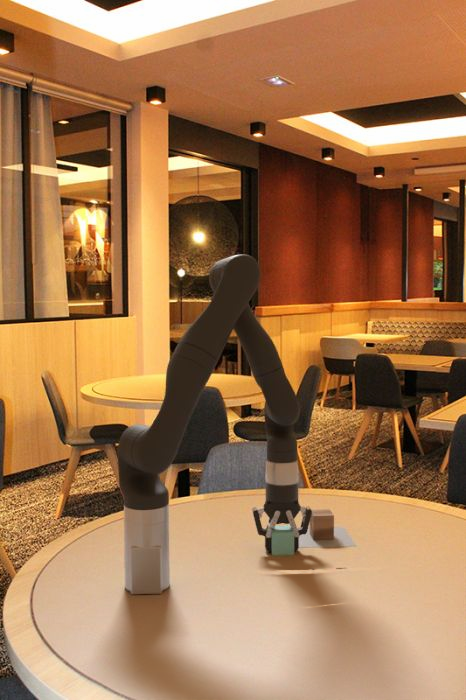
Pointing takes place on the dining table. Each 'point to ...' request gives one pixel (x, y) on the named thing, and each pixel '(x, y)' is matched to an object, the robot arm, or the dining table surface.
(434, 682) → the dining table surface
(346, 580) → the dining table surface
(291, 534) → the teal brick
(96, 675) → the dining table surface
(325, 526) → the walnut brick
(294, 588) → the dining table surface
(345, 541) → the plate
